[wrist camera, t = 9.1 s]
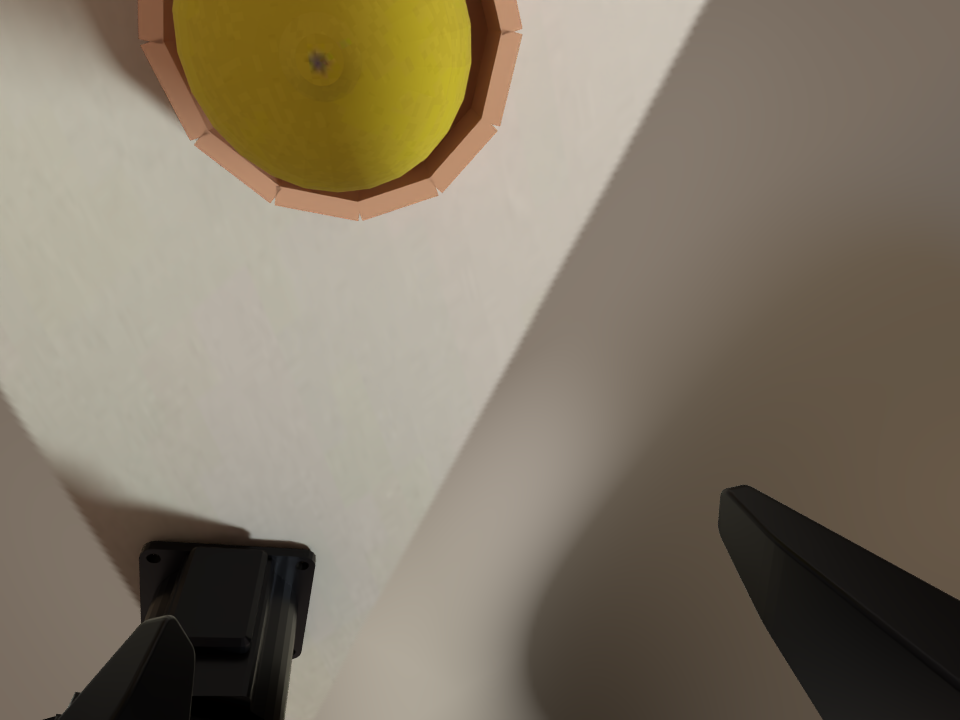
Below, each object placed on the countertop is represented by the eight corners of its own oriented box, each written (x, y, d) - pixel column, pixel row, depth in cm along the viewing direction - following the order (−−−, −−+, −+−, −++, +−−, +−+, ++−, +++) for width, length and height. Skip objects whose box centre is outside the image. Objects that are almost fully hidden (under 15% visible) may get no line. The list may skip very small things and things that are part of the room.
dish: (460, 216, 19) (471, 242, 17) (170, 157, 17) (141, 180, 15) (535, -108, 15) (561, -127, 13) (172, -233, 13) (132, -281, 11)
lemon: (173, -26, 14) (-1, -50, 7) (377, -150, 14) (391, -297, 7) (308, 183, 17) (271, 302, 10) (481, 86, 17) (563, 145, 10)
